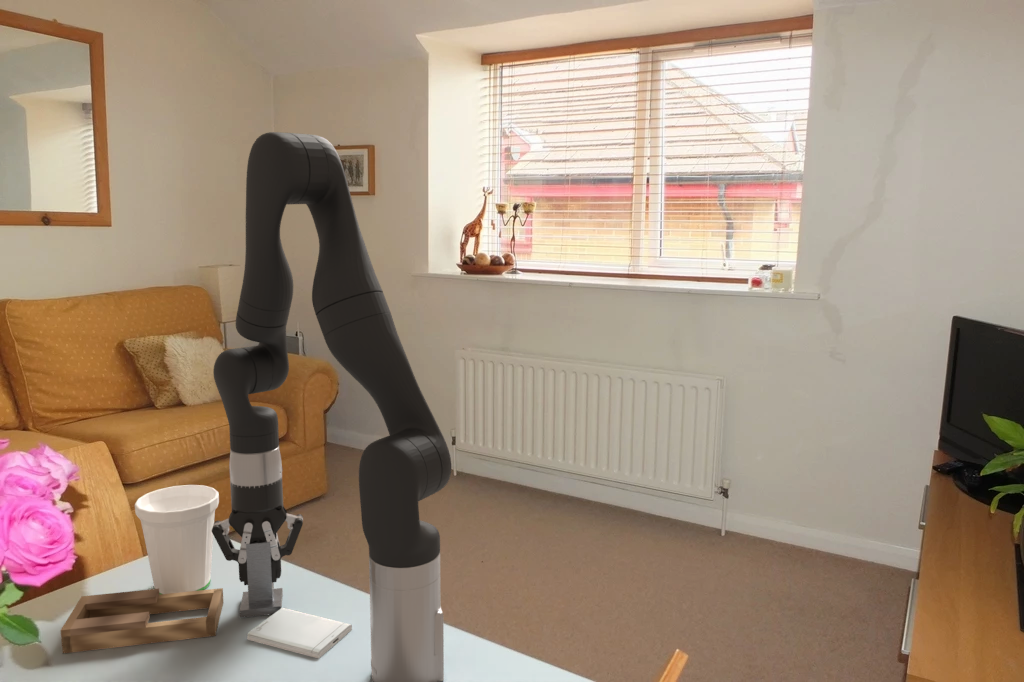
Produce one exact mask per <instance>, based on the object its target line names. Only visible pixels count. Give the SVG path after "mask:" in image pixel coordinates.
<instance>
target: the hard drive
mask: <svg viewBox="0 0 1024 682" xmlns="http://www.w3.org/2000/svg"><path fill="white" fill-rule="evenodd" d="M352 630H353V626H352V624H351V623H347V622H343V621H338V620H334V619H331V618H326V617H322V616H319V615H314V614H310V613H305V612H301V611H298V610H293V609H290V608H286V607H282V608H281V609H280V610H278V611H277V612H276V613H274V614H272V615H269V617H267V618H266V619H265V620H263V621H262V622H261V623H259V624H258V625H256V626H255V627H254V628H252V629H251V630H249V631H248V633H247V635H246V638H247V640H248V641H252V642H255V643H259V644H262V643H263V645H267V646H271V647H273V648H278V649H280V650H286V651H289V652H293V653H297V654H301V655H304V656H308V657H311V658H316V659H320V658H322V657H323V656H324V655H325V654H326V653H327V652H329V650H330V649H332V648H333V647H334V646H335V645H336V644H337V643H338V642H339V641H341V640H342V639H343V638H344V637H345V636H347V635H348V634H349V633H350V632H351V631H352Z"/></svg>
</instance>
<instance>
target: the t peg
mask: <svg viewBox="0 0 1024 682" xmlns="http://www.w3.org/2000/svg"><path fill="white" fill-rule="evenodd" d="M246 556H247V577H248V585H247V591H243V592H242V596H241V601H240V606H239V618H240V619H242V618H244V619H245V618H251V617H261V616H260V615H263V616H271V614H272V615H273V614H274V613H276V612H277V611H278V610H280V609H281V608H283V607H282V606H283V597H284V591H283V587H278V588H275V586H274V583H275V582H273V583H272V567H271V559H272V555H271V548H270V542H267V540H265V541H264V540H256V541H253V542H250V543H249V544H246ZM268 614H270V615H268Z"/></svg>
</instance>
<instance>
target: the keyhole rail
mask: <svg viewBox="0 0 1024 682" xmlns="http://www.w3.org/2000/svg"><path fill="white" fill-rule="evenodd" d="M224 604H225V603H224V588H222V587H220V588H210V589H205V590H199V591H190V592H180V593H170V594H159V589H155V588H151V589H141V590H131V591H123V592H122V591H121V592H113V593H111V592H110V593H102V594H92V595H82V596H81V597H80V598H79V600H78V602H77V603H76V605H75V606H74V608H73V609H72V611H71V613H70V614H69V616H68V618H67V619H66V621H65V622H64V623H63V625H62V627H61V628H60V640H61V652H62V654H70V653H80V652H88V651H96V650H103V649H105V650H106V649H113V648H114V649H115V648H122V647H129V646H130V647H131V646H132V647H133V646H138V645H147V644H155V643H164V642H173V641H175V642H176V641H182V640H191V639H198V638H200V639H201V638H207V637H208V638H209V637H215V636H216V635H217V631H218V627H219V624H220V623H219V622H220V619H221V614H222V611H223V606H224ZM203 609H204V610H205V609H208V610H207V611H208V612H207V615H206V616H201V617H191V618H181V619H175V620H174V619H173V620H165V621H156V622H149V621H150V617H151V616H150V615H157V614H166V613H167V614H168V613H175V612H176V611H177V612H186V611H194V610H203Z"/></svg>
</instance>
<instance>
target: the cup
mask: <svg viewBox="0 0 1024 682" xmlns="http://www.w3.org/2000/svg"><path fill="white" fill-rule="evenodd" d="M219 493H220V492H219V491H218V490H217V489H215V488H214V487H212V486H207V485H203V484H200V485H199V484H185V485H172V486H169V487H164V488H158V489H156V490H153V491H150V492H148V493H145V494H143V495H142V496H140V497H139V498H137V499H136V502H135V503H134V511H135V512H134V513H135V515H136V516H137V518H138V519H139V520H140V524H141V529H142V534H143V537H144V543H145V547H146V552H147V556H148V562H149V567H150V568H149V569H150V573H151V578H152V582H153V589H159V594H170V593H180V592H190V591H199V590H207V588H208V587H209V586H210V584H211V575H212V561H213V559H212V558H213V557H212V556H213V547H214V546H213V545H214V535H213V533H212V528H213V525H214V522H215V515H216V514H215V513H216V509H217V508H218V507H219V503H220V495H219Z"/></svg>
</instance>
